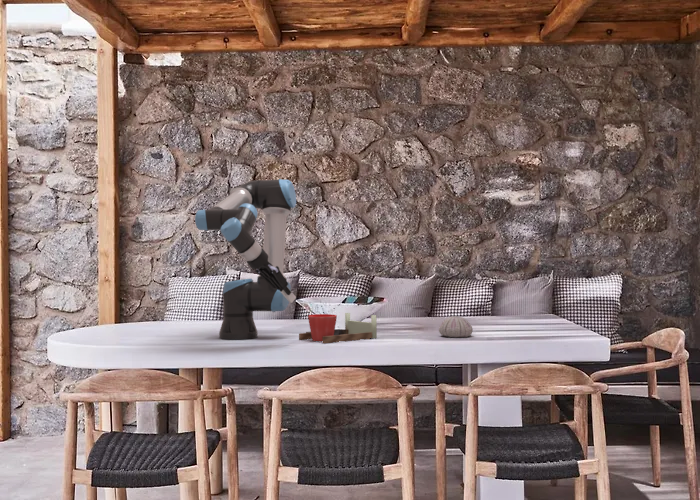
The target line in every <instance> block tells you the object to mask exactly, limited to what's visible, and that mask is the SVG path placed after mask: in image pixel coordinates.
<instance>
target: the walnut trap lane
mask: <svg viewBox="0 0 700 500" xmlns="http://www.w3.org/2000/svg"><path fill="white" fill-rule="evenodd" d="M370 338H372V332H365V333H355V334H348V329H345V328H344V329H343V328H335V331H334V335H333V336H323V342H322V344H324V345H325V344H331V343H333V342H335V343H340V342H339V341H345V342H352V340H354V341H360V339H364V340H371V339H370ZM307 339H308V340H312V335H311V331H305V332H302V333H301V332H300V333H298V341H304V340H305V341H306V340H307ZM308 340H307V341H308ZM333 344H334V343H333Z"/></svg>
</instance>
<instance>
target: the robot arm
mask: <svg viewBox="0 0 700 500" xmlns="http://www.w3.org/2000/svg"><path fill="white" fill-rule="evenodd" d="M296 205H297V195H296V191H295V187H294V184H293V182H292V181H291V180H289V179H281V178H279V179H263V180H262V179H258V180H257V179H256V180H251V181H247V182H245V183H242V184H241V185H239V186H236V187H235V188H233V190H231V191H230V193H229V195H228V196H226V197H225V198H224V199H222V200H221V201H220V202H218V203H217V204H215V205H214V206H212V207H211V208H209V209H200V210H199V209H198V210H197V211H196V213H195V216H194V221H195V226H196V229H197V230H200V231H206V232H207V231H220V234H222V236H223V237H224V239H225V240H226V241H227V243H229V244H230V245H231V246H232V247H233V249H235V250H236V251H237V253H238V254H239V255H240V258H241V259H243V260H244V261H245V262H246V263H247V265H248V266H249V267H250V268H251V269H252V270H255V271H254V272H255V273H256V274H258V275H257V281H254V280H253V279H252V278H245V279H238V280H237V279H235V280H229V281H225V282H224V284H223V289H222V291H223V292H222V295H223V296H222V297H223V298H222V300H223V305H222V306H223V319H222V323H221V327H220V329H219V333H218V334H219V335H218V336H219V337H218V338H219V339H222V340H249V339H250V340H251V339H256V338H258V330H257V327H256V322H255V320H254V312H273V313H275V312H283V311H285V310H287V308H288V306H289V303H290V304H293V302H294V301H295V300H296V298H297V297H296V295H295V294H294V293H293V292H292V290H291V289H292V286H291V283H290V282H288V281H287V277H286V275H284V267H285V266H284V265H285V251H286V249H285V248H286V230H287V217H288V216H289V215H291V213H292V211H291V210H292V209H294V208H295V207H296ZM258 209H261V212H262V213H263V214H264V215H265V217H264V232H263V233H264V234H263V247H262V246H261V245H260V244H259V242H258V241H257V240H256V239H255V238H254V236H252V234H251V231H252V229H253V228H254V225H255V223H256V221H257V218H258V215H259V213H258Z"/></svg>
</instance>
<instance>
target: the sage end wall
mask: <svg viewBox="0 0 700 500" xmlns="http://www.w3.org/2000/svg"><path fill="white" fill-rule="evenodd" d="M370 316H371V317H370V319H371V321H370V322H368V321H357V320H351V313H350V312H345V313H344V320H345V321H344V327H345V328H344V329H348V334H355V333H365V332H372V338H377V337H378V336H377V333H378V331H377V330H378V329H377V326H378V324H377V315H376V314H371V315H370ZM377 339H378V338H377Z"/></svg>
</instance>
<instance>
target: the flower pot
mask: <svg viewBox="0 0 700 500" xmlns="http://www.w3.org/2000/svg"><path fill="white" fill-rule="evenodd" d="M307 318H308V323H309V330H310V332H311V335H312V339H311V340H312V341H313V342H316V341H323V336H333V335H334V331H335V329H336V324H337V318H338V315H336V314H329V313H319V314H318V313H317V314H309V315H308V316H307Z"/></svg>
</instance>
